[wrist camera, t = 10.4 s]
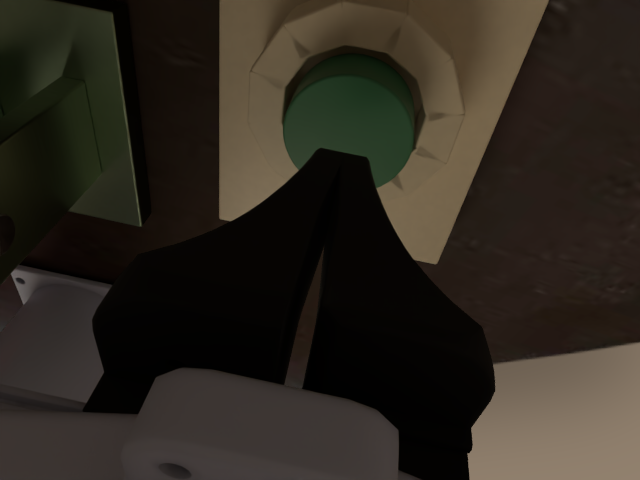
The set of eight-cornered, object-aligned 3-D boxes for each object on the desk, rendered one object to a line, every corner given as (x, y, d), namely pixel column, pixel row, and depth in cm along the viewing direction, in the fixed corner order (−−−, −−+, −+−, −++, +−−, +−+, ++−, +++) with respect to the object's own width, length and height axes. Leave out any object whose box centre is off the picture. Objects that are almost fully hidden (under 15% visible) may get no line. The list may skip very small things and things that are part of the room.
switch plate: (436, 240, 23) (438, 294, 20) (229, 197, 23) (205, 245, 20) (552, -47, 15) (581, -21, 12) (235, -109, 15) (197, -95, 12)
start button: (397, 176, 17) (395, 205, 16) (287, 153, 17) (277, 180, 16) (429, 66, 15) (431, 90, 13) (300, 40, 15) (288, 61, 13)
